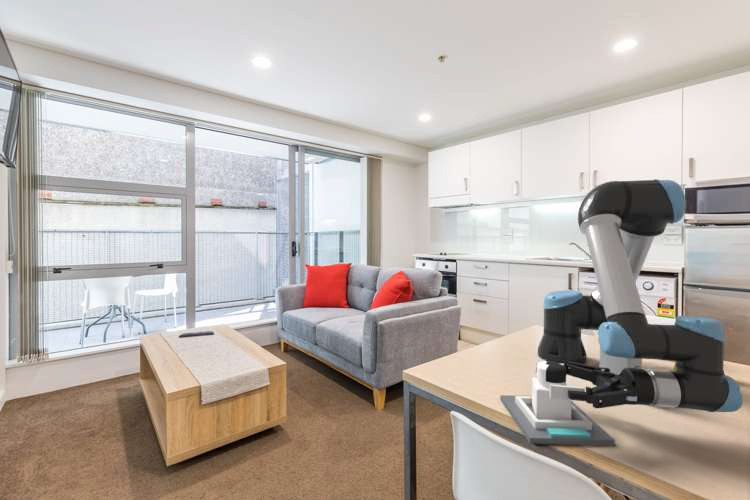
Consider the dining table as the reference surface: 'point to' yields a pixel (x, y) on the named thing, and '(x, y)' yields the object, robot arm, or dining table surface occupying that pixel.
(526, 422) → the dock
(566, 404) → the medicine bottle
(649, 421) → the dining table surface
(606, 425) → the dining table surface
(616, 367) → the supplement box
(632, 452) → the dining table surface
